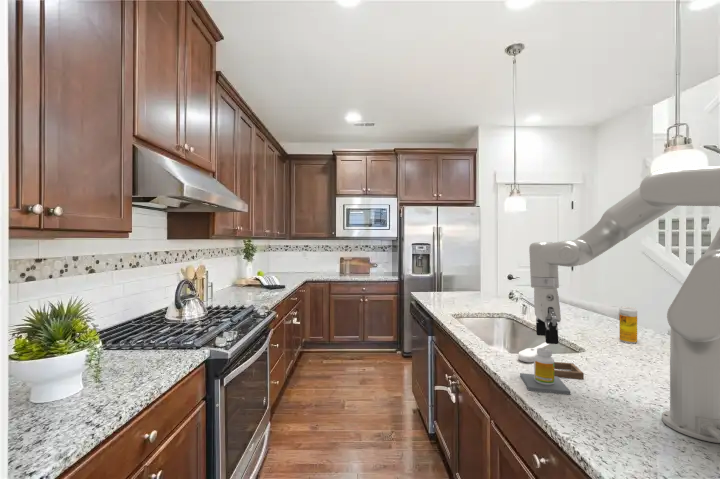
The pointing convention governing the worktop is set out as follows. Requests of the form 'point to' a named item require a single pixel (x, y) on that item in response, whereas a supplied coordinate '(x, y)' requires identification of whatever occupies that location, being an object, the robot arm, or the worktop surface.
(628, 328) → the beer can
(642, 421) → the worktop surface
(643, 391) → the worktop surface
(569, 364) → the collar
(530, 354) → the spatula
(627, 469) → the worktop surface
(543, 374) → the supplement bottle
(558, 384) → the rubber mat
